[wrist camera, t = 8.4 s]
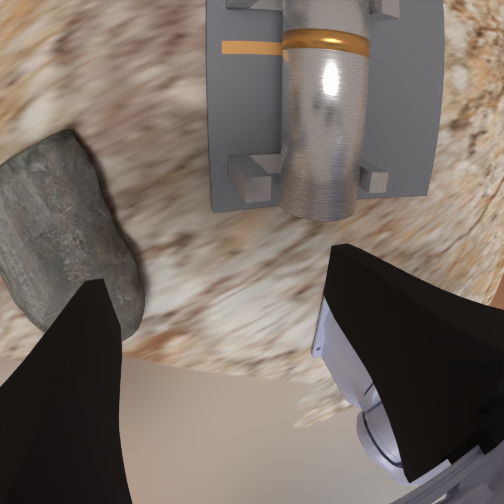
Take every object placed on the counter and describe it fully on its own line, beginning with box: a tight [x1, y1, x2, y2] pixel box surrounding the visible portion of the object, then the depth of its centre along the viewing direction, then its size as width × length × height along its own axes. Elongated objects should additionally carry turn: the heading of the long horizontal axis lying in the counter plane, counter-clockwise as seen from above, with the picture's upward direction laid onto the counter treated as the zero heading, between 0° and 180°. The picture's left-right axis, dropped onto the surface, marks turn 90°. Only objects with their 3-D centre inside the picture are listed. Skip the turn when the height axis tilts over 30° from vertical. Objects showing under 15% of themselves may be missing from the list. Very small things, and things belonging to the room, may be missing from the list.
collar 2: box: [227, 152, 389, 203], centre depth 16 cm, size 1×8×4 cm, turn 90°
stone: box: [0, 130, 145, 341], centre depth 16 cm, size 11×4×15 cm
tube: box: [279, 0, 370, 221], centre depth 13 cm, size 14×4×4 cm, turn 0°
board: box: [206, 0, 444, 213], centre depth 16 cm, size 18×18×1 cm
